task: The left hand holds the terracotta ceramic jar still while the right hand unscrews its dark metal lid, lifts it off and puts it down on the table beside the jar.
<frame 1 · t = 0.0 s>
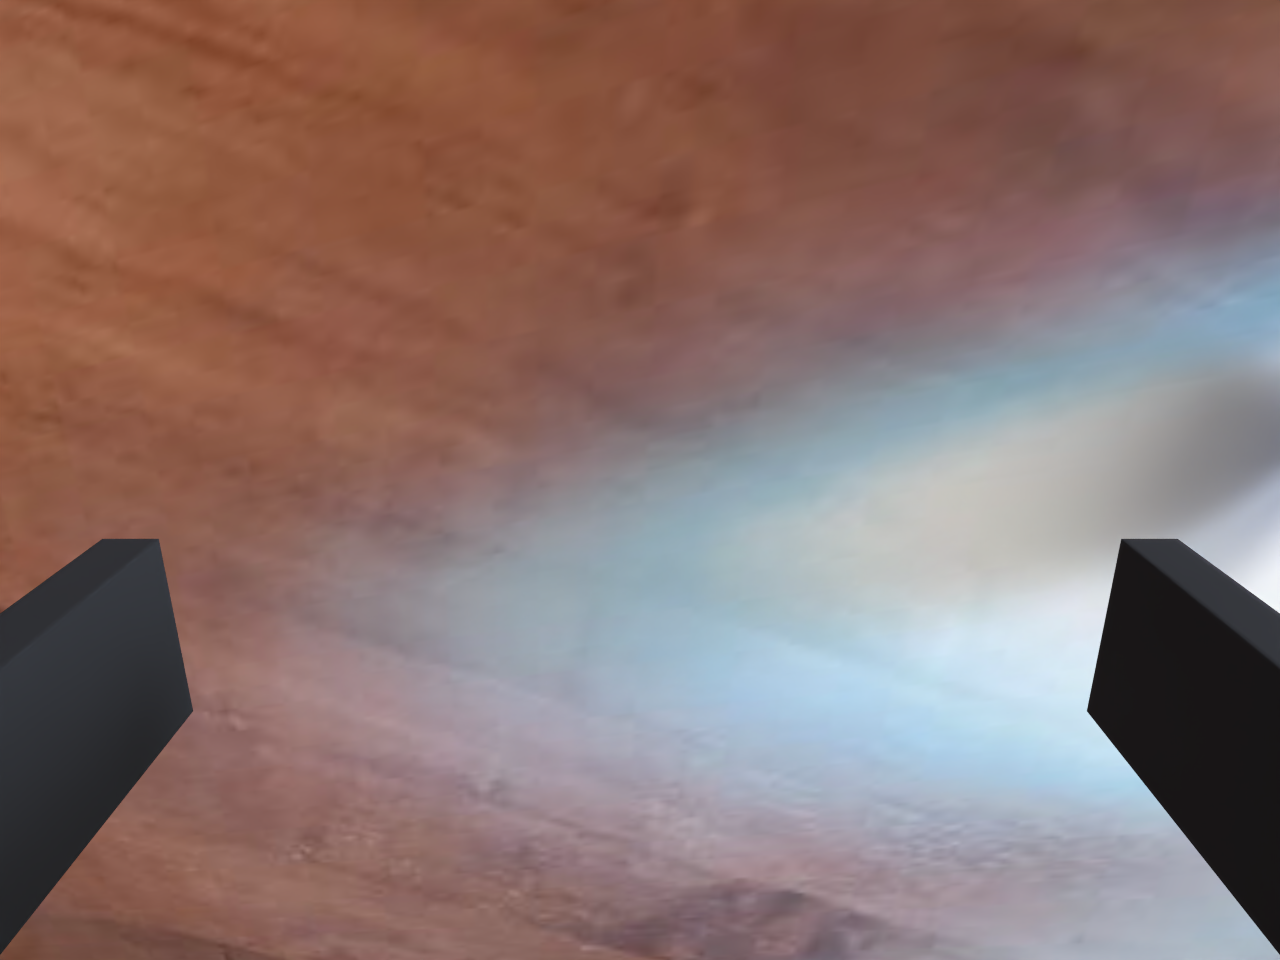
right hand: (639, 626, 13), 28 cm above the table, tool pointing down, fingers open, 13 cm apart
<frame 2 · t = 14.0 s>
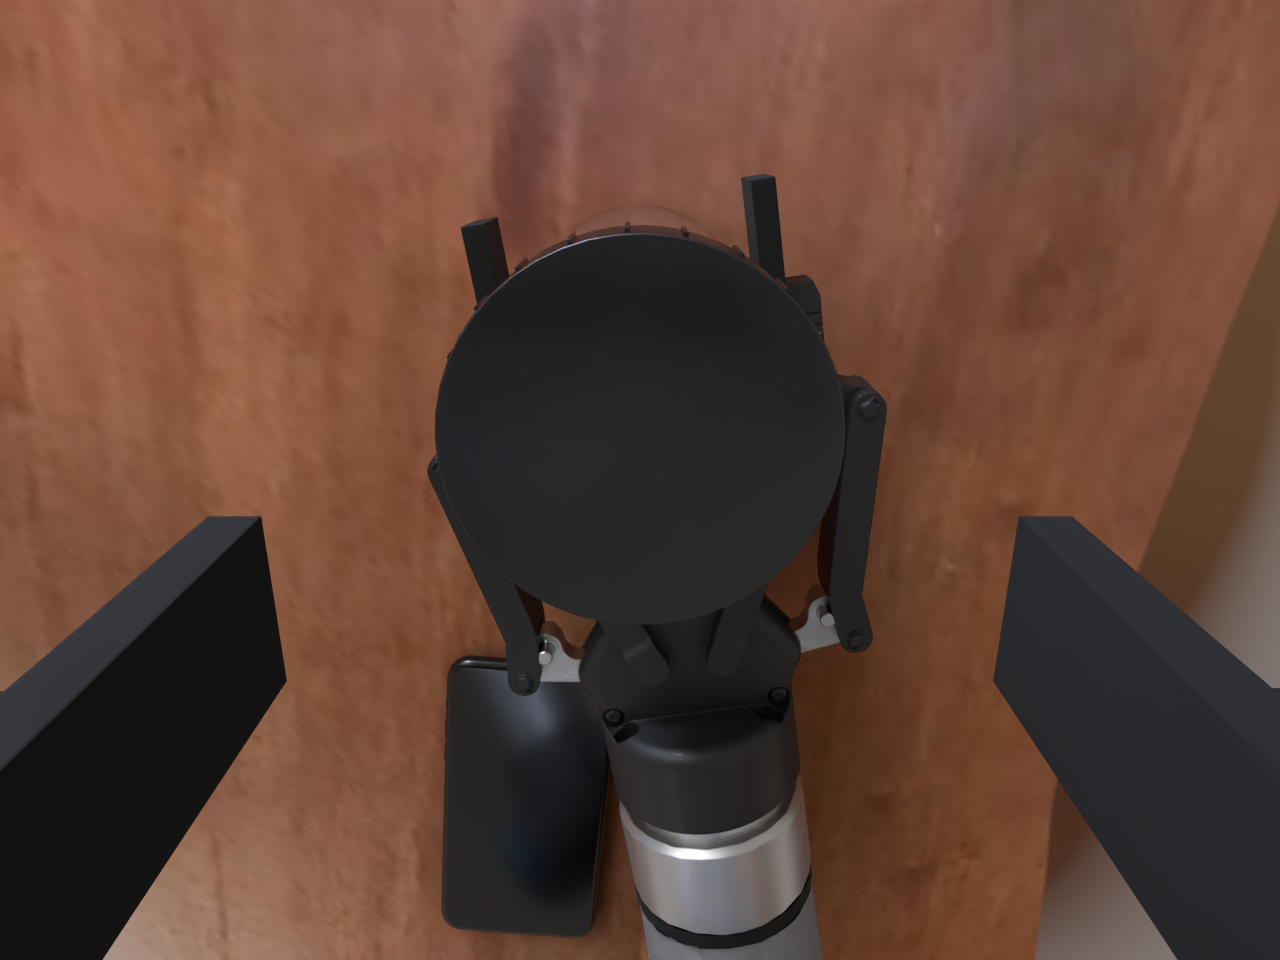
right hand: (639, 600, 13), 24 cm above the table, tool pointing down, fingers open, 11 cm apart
left hand: (617, 200, 29), fingers closed on jar, 8 cm apart
lid: (640, 439, 21), point 17 cm above the table, screwed on, not yet turned
jar: (640, 313, 36), on the table, touching left hand
smartphone: (527, 795, 44), on the table
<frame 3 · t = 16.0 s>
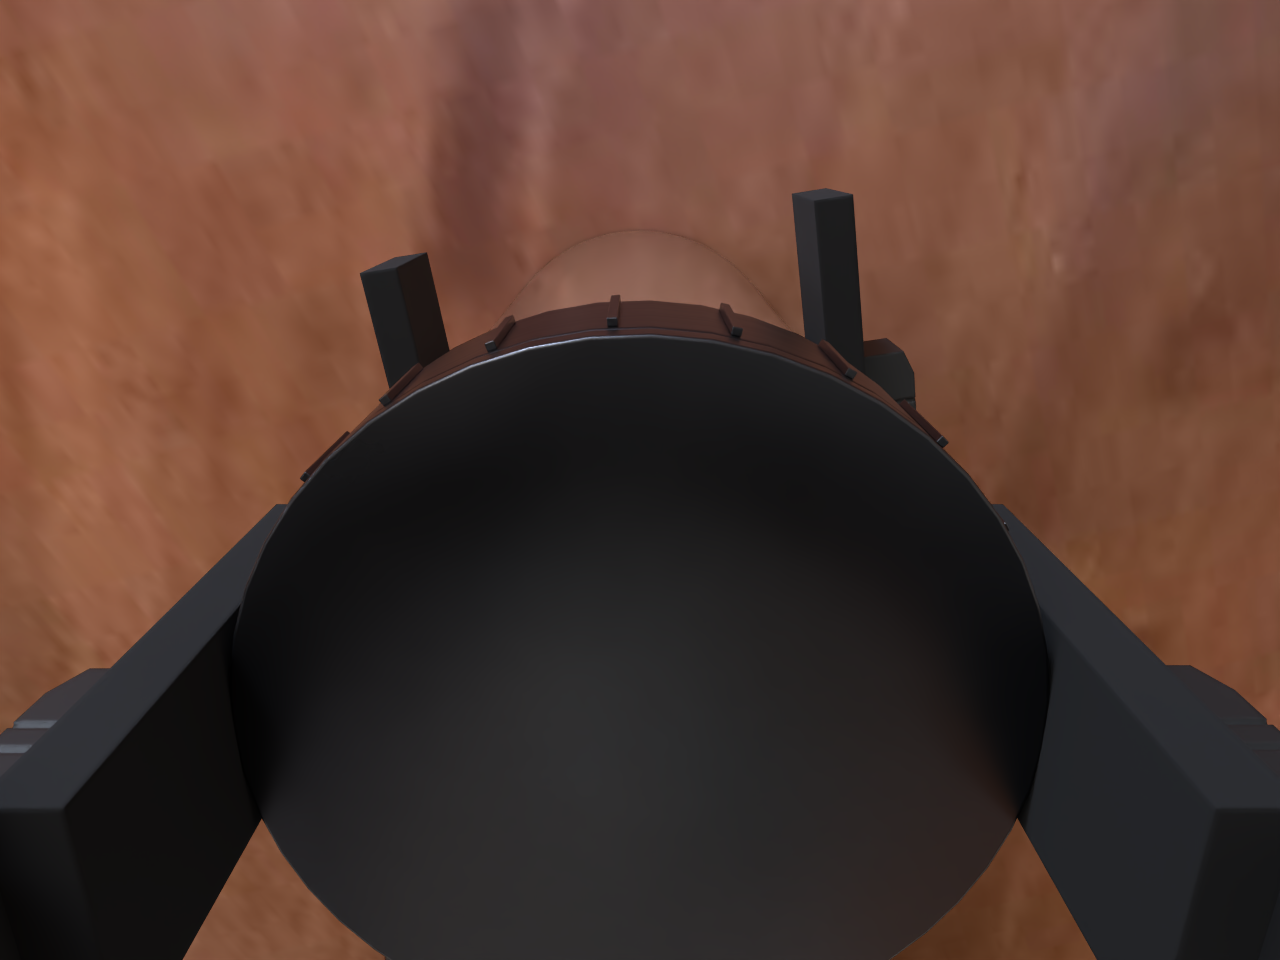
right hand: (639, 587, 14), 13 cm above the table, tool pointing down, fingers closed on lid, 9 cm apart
lid: (639, 719, 11), point 17 cm above the table, screwed on, not yet turned, touching right hand
jar: (639, 377, 26), on the table, touching left hand
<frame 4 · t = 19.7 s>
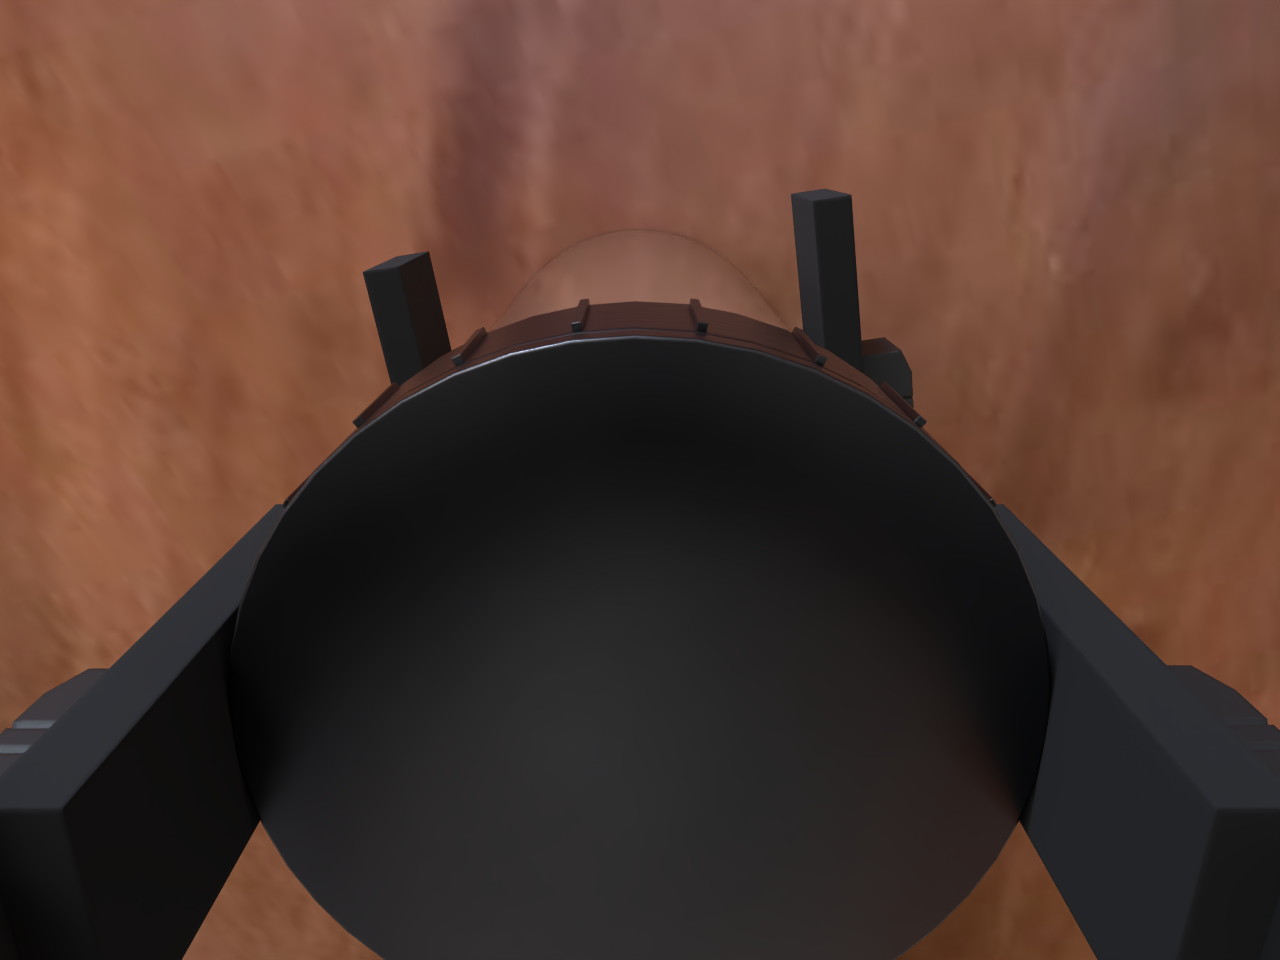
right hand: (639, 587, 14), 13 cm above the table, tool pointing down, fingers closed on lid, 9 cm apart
lid: (639, 722, 11), point 17 cm above the table, turned 130° so far, risen 0.2 cm, still on its thread, touching right hand
jar: (639, 376, 26), on the table, touching left hand
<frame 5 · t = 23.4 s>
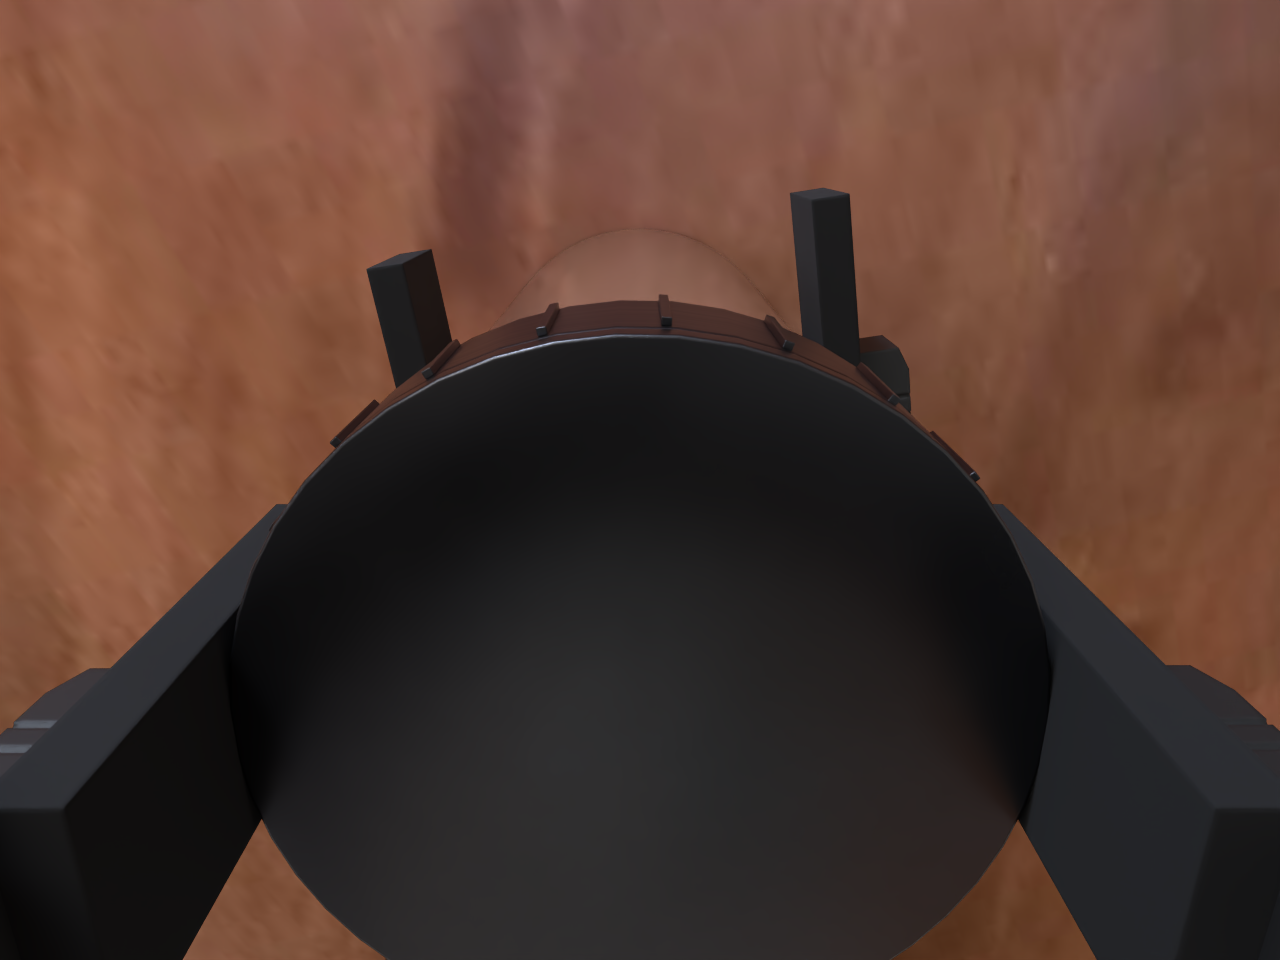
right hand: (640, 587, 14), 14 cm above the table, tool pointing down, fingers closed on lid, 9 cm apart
lid: (639, 720, 11), point 17 cm above the table, turned 260° so far, risen 0.4 cm, still on its thread, touching right hand
jar: (639, 374, 27), on the table, touching left hand
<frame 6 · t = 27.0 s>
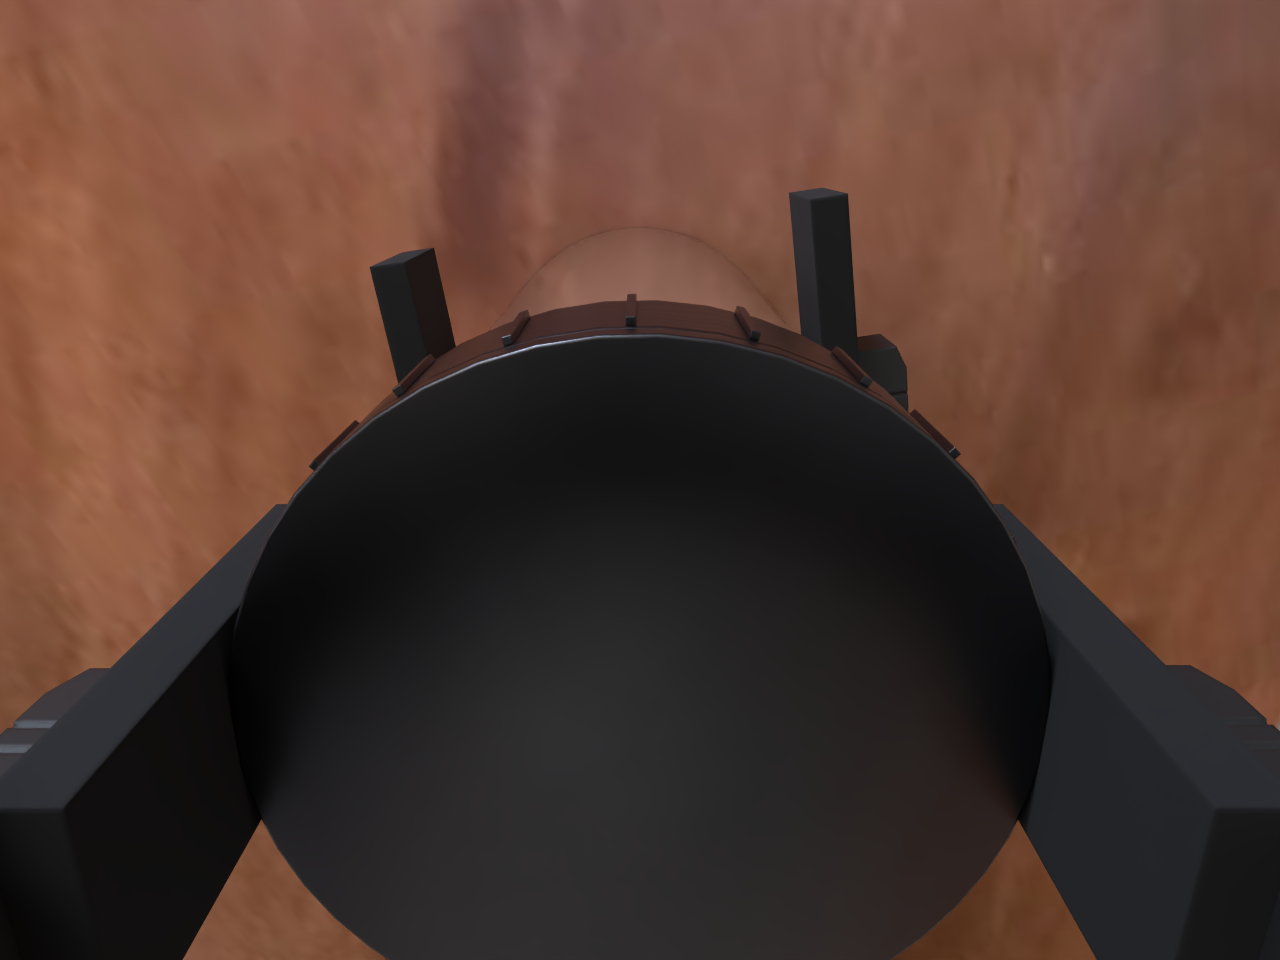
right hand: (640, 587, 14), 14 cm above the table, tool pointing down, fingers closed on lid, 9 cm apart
lid: (639, 720, 11), point 17 cm above the table, turned 389° so far, risen 0.6 cm, still on its thread, touching right hand
jar: (639, 372, 27), on the table, touching left hand
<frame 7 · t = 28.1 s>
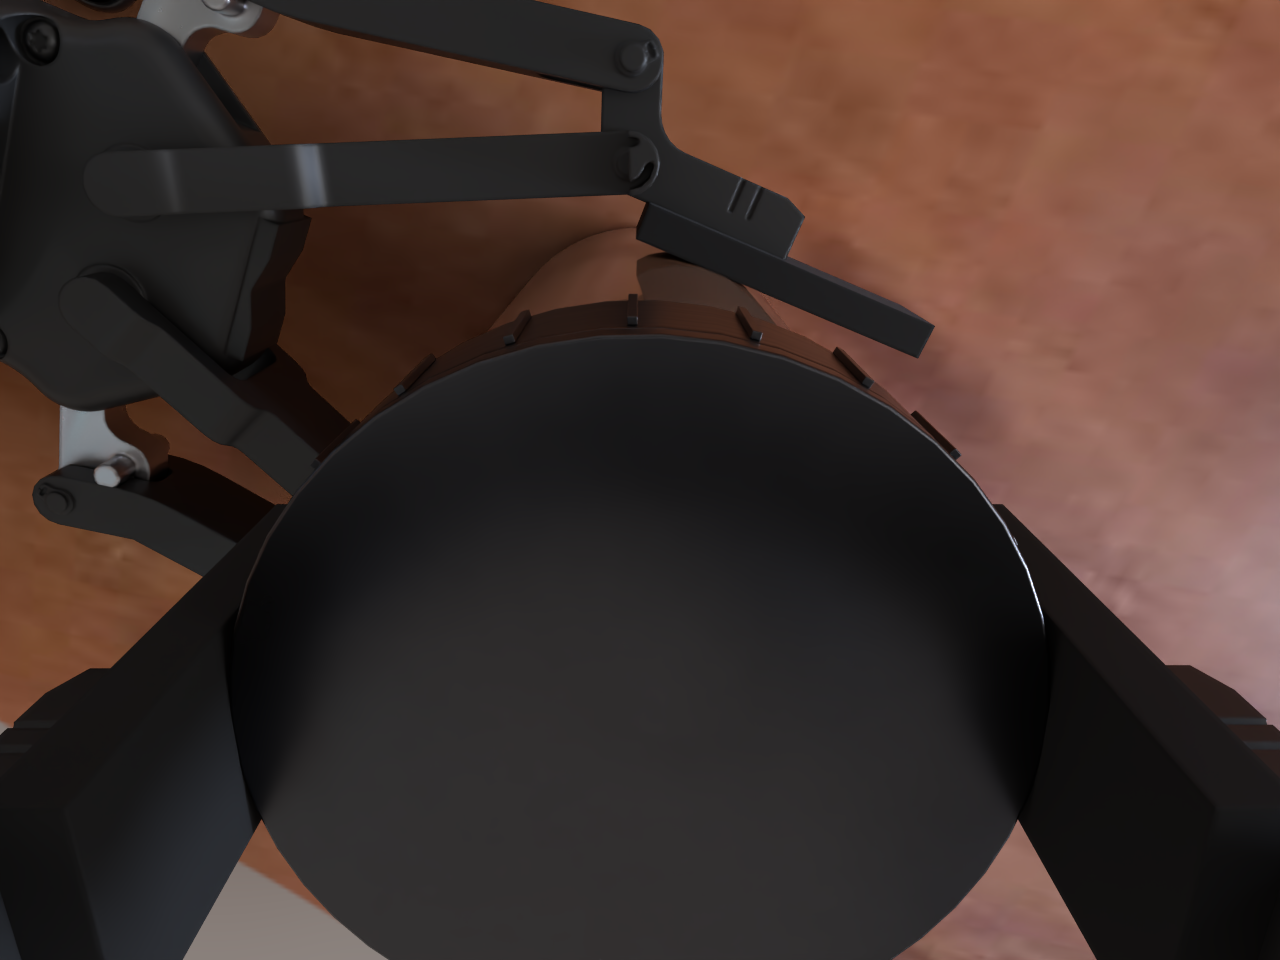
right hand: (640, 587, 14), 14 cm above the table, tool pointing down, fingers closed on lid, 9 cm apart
lid: (639, 720, 11), point 17 cm above the table, off its thread, touching right hand
jar: (639, 371, 27), on the table, touching left hand
when the right hand's fingers open (0 cm above the table, at t = 34.0 s): lid drops 2 cm, point 2 cm above the table.
when the left hand's fingers open (6 cm above the table, at t = 35.0 s): jar stays where it is, on the table.
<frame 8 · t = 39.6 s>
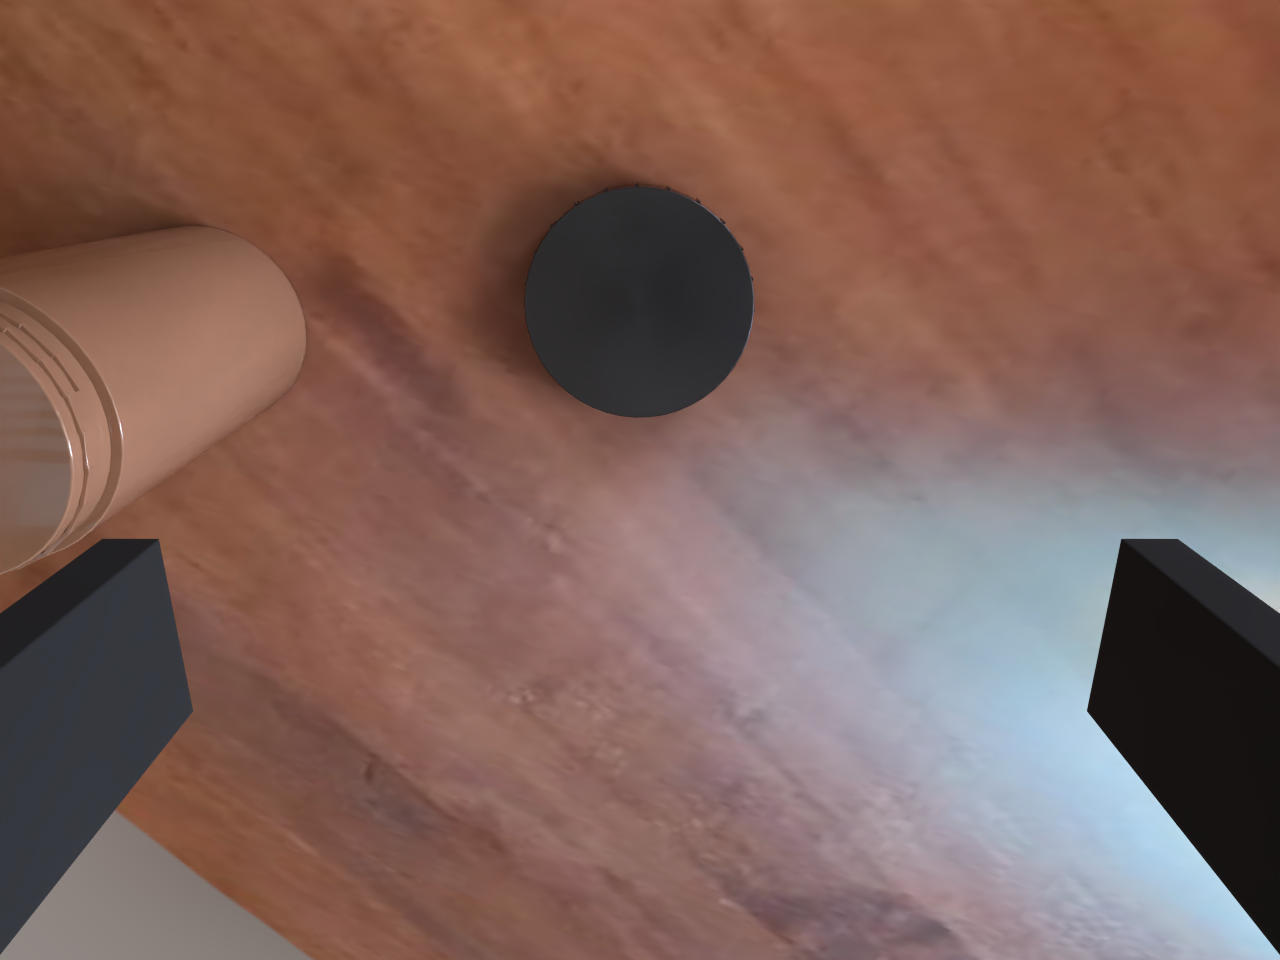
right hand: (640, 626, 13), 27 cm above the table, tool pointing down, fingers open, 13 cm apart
lid: (639, 305, 37), point 2 cm above the table, off its thread
jar: (208, 325, 39), on the table
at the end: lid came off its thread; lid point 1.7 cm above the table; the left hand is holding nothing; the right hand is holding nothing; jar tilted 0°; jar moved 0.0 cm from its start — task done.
